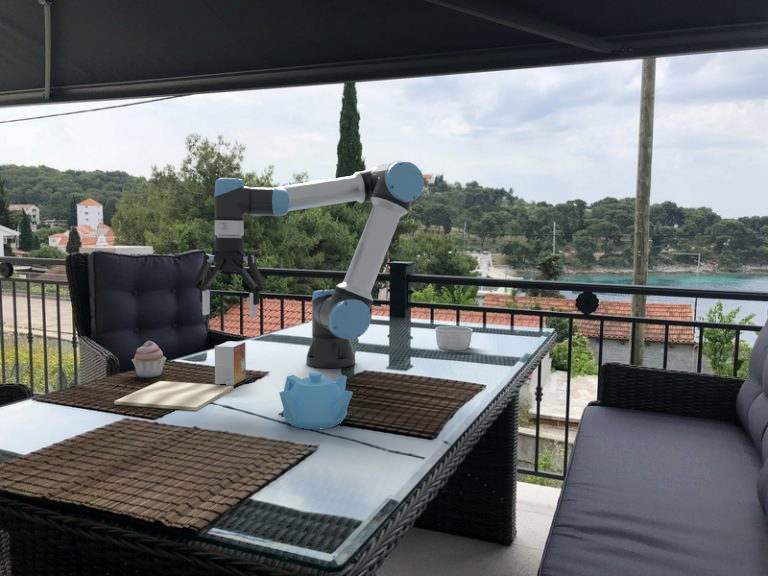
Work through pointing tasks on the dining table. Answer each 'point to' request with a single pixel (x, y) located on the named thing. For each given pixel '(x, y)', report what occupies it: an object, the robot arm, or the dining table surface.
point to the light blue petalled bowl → (315, 401)
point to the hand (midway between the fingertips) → (229, 315)
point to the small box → (230, 363)
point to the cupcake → (149, 360)
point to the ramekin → (453, 337)
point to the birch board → (175, 395)
